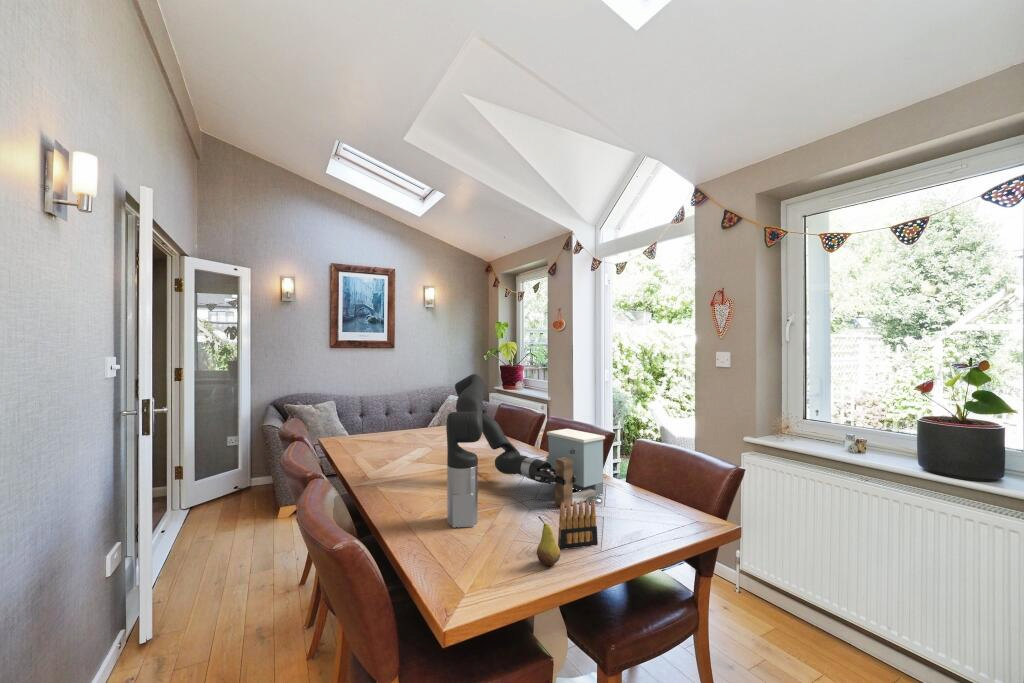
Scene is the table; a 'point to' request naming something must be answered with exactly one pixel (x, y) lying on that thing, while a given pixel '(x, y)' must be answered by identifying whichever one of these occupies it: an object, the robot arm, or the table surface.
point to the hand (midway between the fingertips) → (569, 480)
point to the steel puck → (595, 500)
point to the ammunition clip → (577, 526)
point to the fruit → (548, 547)
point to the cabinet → (579, 456)
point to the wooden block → (568, 485)
